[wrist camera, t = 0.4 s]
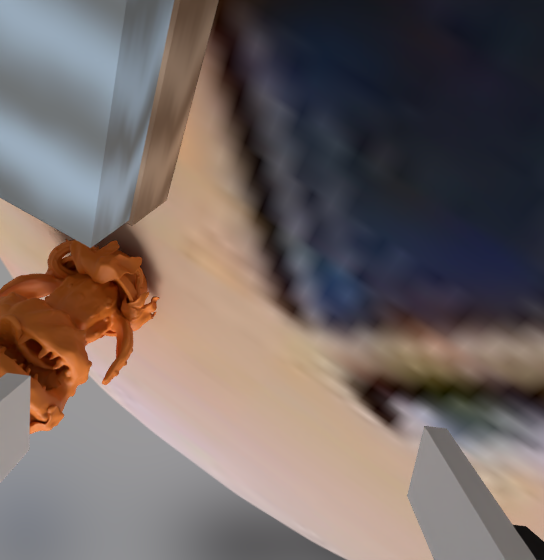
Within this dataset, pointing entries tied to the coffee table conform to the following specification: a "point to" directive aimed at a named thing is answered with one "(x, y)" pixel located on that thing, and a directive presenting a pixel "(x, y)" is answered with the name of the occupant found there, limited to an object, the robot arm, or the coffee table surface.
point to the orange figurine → (70, 322)
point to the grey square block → (96, 106)
